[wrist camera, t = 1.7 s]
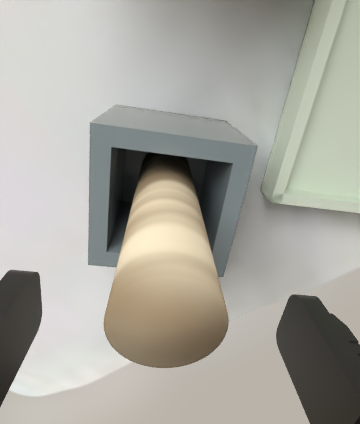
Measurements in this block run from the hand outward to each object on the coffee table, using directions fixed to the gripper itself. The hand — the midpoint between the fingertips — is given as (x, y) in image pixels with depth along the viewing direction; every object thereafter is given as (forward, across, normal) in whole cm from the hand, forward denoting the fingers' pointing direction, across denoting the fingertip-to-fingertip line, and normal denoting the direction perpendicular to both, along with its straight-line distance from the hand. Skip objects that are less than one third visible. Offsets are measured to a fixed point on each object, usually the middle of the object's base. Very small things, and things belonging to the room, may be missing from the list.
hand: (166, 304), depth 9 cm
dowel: (+14, 0, 0) cm, 14 cm away
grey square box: (+15, 0, 0) cm, 15 cm away
